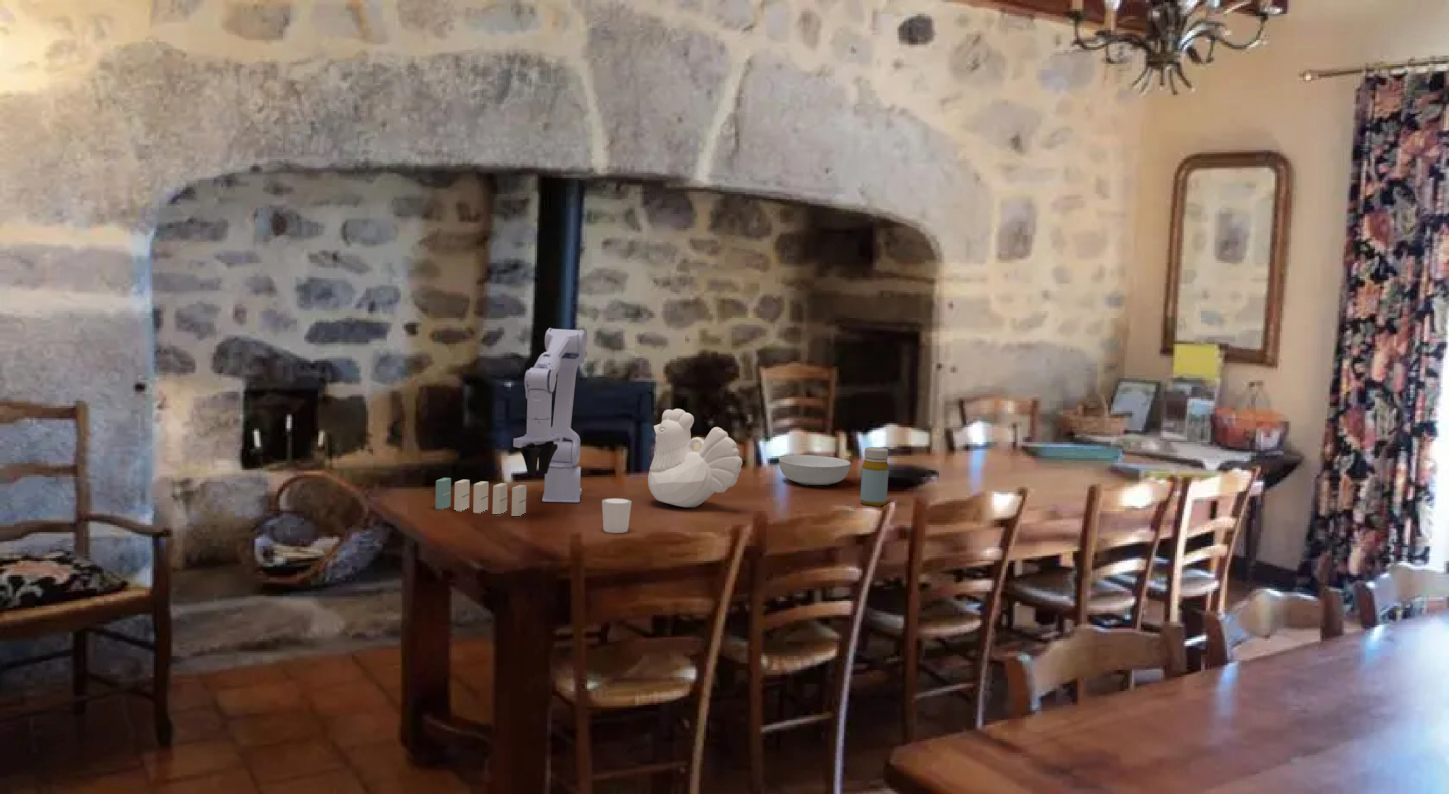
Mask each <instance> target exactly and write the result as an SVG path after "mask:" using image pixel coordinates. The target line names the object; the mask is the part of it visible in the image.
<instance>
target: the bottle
mask: <svg viewBox="0 0 1449 794" xmlns="http://www.w3.org/2000/svg"><path fill="white" fill-rule="evenodd" d="M888 458H889V450H888V449H887V448H884V447H877V446H876V447H873V446H871V447H870V446H868V447H865V448H864V460H863V463H862V469H861V481H860V483H861V484H860V503H861V504H862V505H865V506H869V507H882V506H881V505H884V504H885V503H886V504H887V500H888V488H889V486H888V483H889V472H890V471H889V464H888ZM886 504H885V505H886ZM885 505H884V506H885Z"/></svg>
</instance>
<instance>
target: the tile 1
mask: <svg viewBox="0 0 1449 794" xmlns="http://www.w3.org/2000/svg"><path fill="white" fill-rule="evenodd" d="M451 484H452V478H451V477H442V478H440V479H437V480H435V505H434V506H435V507H434V509H435V510H444V508H445V509H447V508H449V507H451V502H452V501H451V498H452V495H451V493H452V491H451V490H452V489H451V488H452V486H451Z"/></svg>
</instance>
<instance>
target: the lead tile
mask: <svg viewBox="0 0 1449 794" xmlns="http://www.w3.org/2000/svg"><path fill="white" fill-rule="evenodd" d="M526 511H527V485H526V484H518V485H516V486H513V487H512V488H511V516H520V517H522V516H523V515H522V514H524V513H526ZM526 514H527V513H526ZM521 515H522V516H521ZM524 515H525V514H524Z"/></svg>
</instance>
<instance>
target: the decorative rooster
mask: <svg viewBox="0 0 1449 794" xmlns="http://www.w3.org/2000/svg"><path fill="white" fill-rule="evenodd" d="M694 422H695V417H694V415H693V414H691V413H689V412H686V411H685V410H684V409H681V408H675V409H665V410H664V411H663V413H662V415H661V422H660V423H659V424H655V425H653V429H654V433H655V437H654V439H655V440H654V441H655V444H654V450H655V452H654V456H653V459H652V461H651V464H650V466H649V472H648V475H647V485H648V489H649V491H650V493H651V495H652V496H653V497H654V498H655V500H657V501H658V502H662V503H665V504H669V505H673V506H676V507H677V506H678V507H682V508H697V507H698V506H701V504H702V503H704V502H706V501H707V500H708V499H709V498H710V497H711V496H712V495H713V494H714V493H721V494H724V493H725V492H726V491H727V490H728V489H729V488H731V487H734V485H736V484H737V482H738V481H737V480H738V478H739V474H740V473H741V471H742V465H743V459H742V458H741V457H740V456H739V454H740V450H739V449H738V444H737V443H736V441H734V439H732V437H729V434H728V431H726V430H724V429H723V428H721V427H719V426H715V427H713V428H711V430H710V431H709V433H708V434H707V435H706V437H705V440H704V439H703V438H702V437H699V436H696V437H693V438H691V437H692V433H691V429H692V427H693V424H694ZM696 443H698V444H699V445H700V449H699V450H695V448H694V447H695V444H696Z"/></svg>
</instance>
